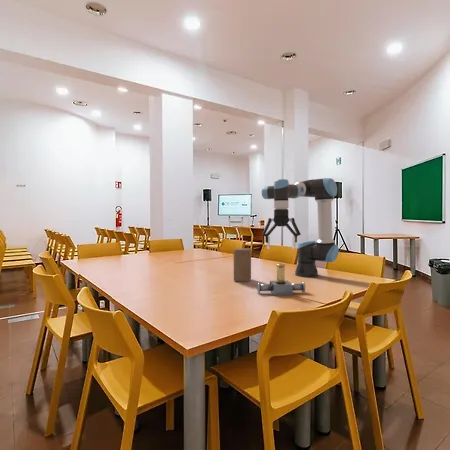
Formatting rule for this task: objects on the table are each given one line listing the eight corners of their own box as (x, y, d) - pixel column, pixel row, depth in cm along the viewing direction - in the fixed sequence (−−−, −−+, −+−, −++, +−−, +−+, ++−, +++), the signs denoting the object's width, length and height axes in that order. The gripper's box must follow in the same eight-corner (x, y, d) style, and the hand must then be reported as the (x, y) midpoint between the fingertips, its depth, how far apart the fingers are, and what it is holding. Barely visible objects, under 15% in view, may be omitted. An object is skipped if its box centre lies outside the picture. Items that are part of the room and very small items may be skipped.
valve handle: (283, 289, 168) (283, 263, 167) (286, 291, 163) (286, 264, 163) (275, 289, 168) (275, 263, 167) (277, 291, 163) (277, 264, 162)
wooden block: (249, 282, 191) (249, 250, 190) (233, 281, 193) (233, 249, 192) (251, 278, 201) (251, 248, 200) (236, 278, 203) (235, 247, 202)
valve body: (300, 290, 171) (300, 280, 171) (306, 295, 161) (306, 284, 161) (256, 291, 170) (256, 280, 170) (259, 295, 160) (259, 285, 160)
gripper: (302, 208, 168) (302, 247, 169) (256, 209, 167) (256, 248, 168) (306, 208, 161) (306, 249, 162) (259, 208, 159) (259, 250, 160)
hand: (281, 248), depth 165 cm, fingers open, 13 cm apart
